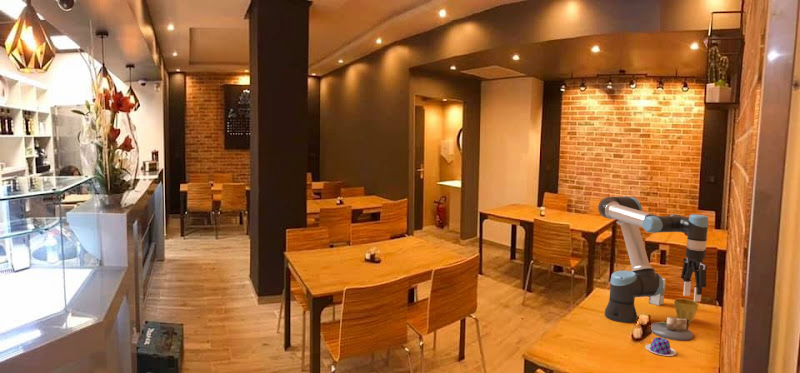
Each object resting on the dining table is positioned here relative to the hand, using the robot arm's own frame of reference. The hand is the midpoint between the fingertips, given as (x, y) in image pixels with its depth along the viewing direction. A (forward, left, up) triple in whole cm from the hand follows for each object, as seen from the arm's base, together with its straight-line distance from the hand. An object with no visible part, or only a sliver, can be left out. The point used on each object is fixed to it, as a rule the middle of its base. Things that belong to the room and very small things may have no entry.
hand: (691, 298), depth 222 cm
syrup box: (+12, +48, -19) cm, 53 cm away
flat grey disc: (-4, +6, -19) cm, 21 cm away
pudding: (-20, -14, -20) cm, 32 cm away
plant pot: (+13, +23, -19) cm, 33 cm away
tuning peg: (-2, +6, -17) cm, 18 cm away
